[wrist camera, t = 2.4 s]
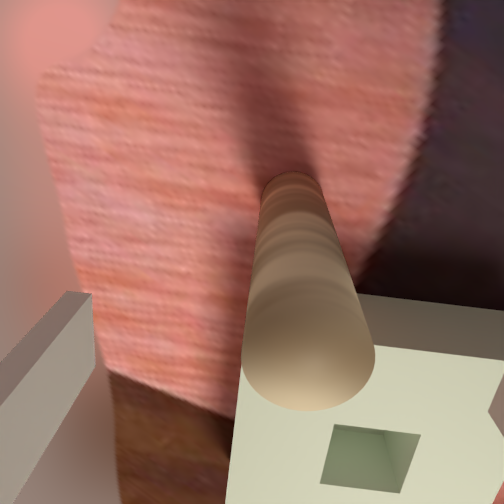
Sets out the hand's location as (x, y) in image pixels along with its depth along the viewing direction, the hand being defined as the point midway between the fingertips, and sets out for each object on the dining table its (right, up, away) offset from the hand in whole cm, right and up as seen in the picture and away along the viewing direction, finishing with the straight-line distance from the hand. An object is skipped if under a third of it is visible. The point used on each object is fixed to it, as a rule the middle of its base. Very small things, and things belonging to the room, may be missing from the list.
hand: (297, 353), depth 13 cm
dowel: (+1, +6, +14) cm, 15 cm away
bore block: (+7, -8, +20) cm, 23 cm away
